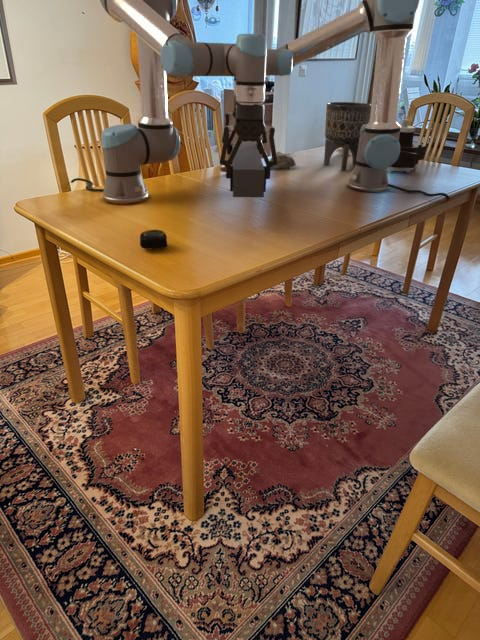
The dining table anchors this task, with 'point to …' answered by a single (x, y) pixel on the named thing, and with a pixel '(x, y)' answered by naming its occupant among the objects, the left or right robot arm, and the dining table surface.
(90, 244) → the dining table surface
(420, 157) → the mechanical component
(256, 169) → the long gray bar
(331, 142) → the planter
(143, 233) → the tape measure
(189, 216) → the dining table surface
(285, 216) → the dining table surface
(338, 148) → the figurine
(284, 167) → the rock
